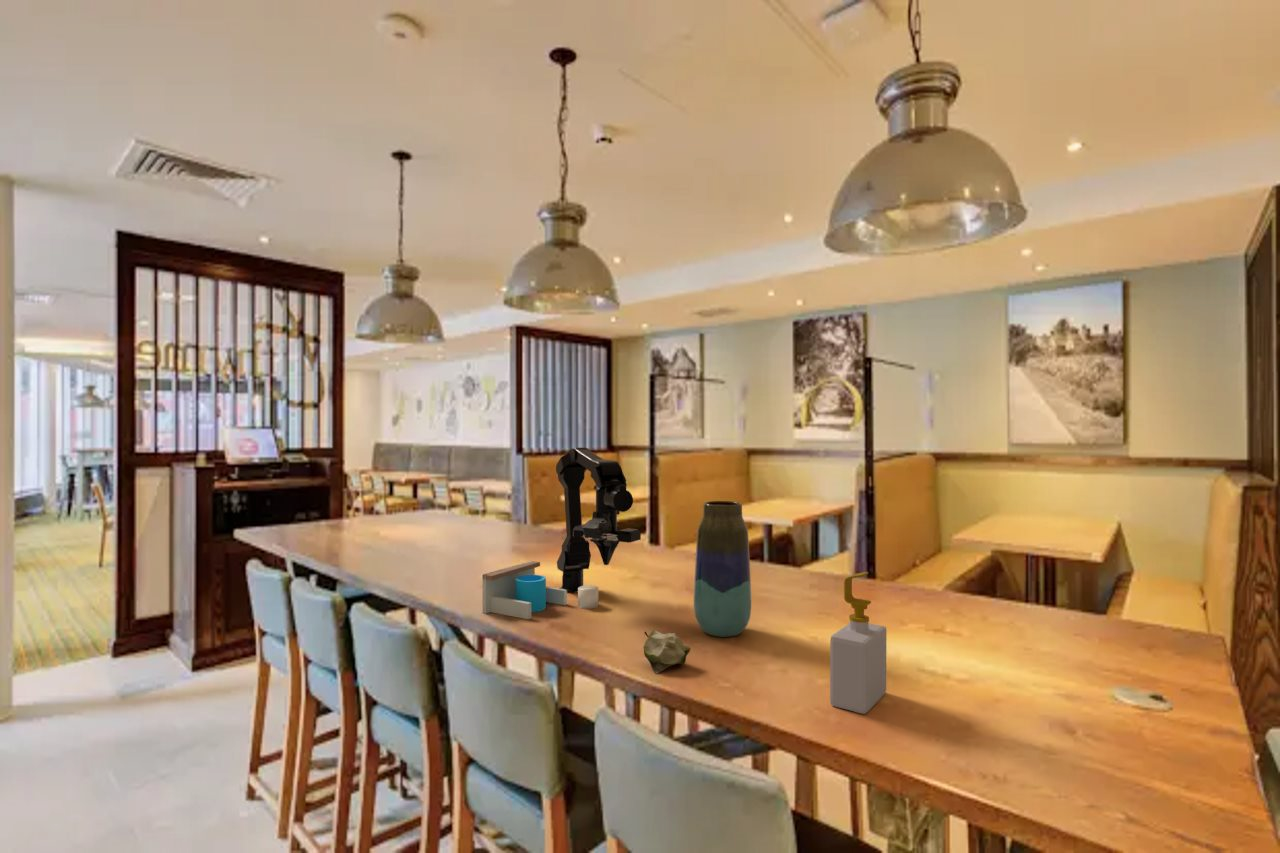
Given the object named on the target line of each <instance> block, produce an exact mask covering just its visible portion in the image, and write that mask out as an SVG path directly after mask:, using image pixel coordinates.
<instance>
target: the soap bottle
mask: <svg viewBox="0 0 1280 853" xmlns="http://www.w3.org/2000/svg"><path fill="white" fill-rule="evenodd" d="M868 574H869V572H868V571H864V572H858V573H854V574H852V575H850V576H848V577H846V578H845V579H844V584H843V586H844V588H843V589H844V593H843V594H844V595H843V597H844V601H845V602H846V603H848V604H850V608H852V609H854V611H853V613H851V614H849V617H848V618H849V619H848V620H849V623H848V624H846V625H845V626H843V627H842V628H840V629H839V630H837V631H836V632H835V633H833V634H832V635H831V637H830V640H829V641H830V642H829V643H830V644H829V646H830V648H829V649H830V653H829V654H830V658H829V661H830V662H829V663H830V664H829V665H830V667H829V668H830V670H829V671H830V673H829V674H830V675H829V676H830V680H829V684H830V685H829V689H830V691H829V692H830V693H829V694H830V695H829V697H830V698H829V699H830V701H829V702H830V705H831V706H833V707H837V708H840V709H843V710H848V711H850V712H855V713H858V714H862V715H865V714H868V713H869V711H870V710H871V709H872V708H873V707H874V706H875V705H876V704H877V703H878V702H879V701H880V700H881V699H882V697H883V696H885V694H886V692H887V627H886V626H884V625H881V624H880V625H879V624H874V623H869V622H870V616H868V615H866V614H865V610H868V606H869V605H870V604H871V603H872V601H871V600H869V599H862V598H857V597H854V596H853V579H856V578H857V579H858V578H862V577H865V576H867V575H868Z"/></svg>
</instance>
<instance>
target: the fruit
mask: <svg viewBox="0 0 1280 853" xmlns="http://www.w3.org/2000/svg"><path fill="white" fill-rule="evenodd" d="M644 635H645V636H646V637H647V639H646V640H645V642H644V645H643V655H644V657H645V658H646V659H647V661H648V662H649V664H650V666H651V669H652V671H653V672H654V674H657V675H658V674H660V673H661V672H662V671H664V670H666V669H668V668H669V667H671V666H673V665H676V664H678V665H684V664H685V663H686V660H687V656H688V655H689V654H690V652H691V649H692V647H690V646H689V645H687V644H685V643H683V641H682V640H681V639H680V637H679V636H677V634H676V633H675V632H673V633H671V632H669V633H665V634H664V633H662V632H659V631H657V630H654V629H653V630H651V632H650V633H649V634H647V631H644Z"/></svg>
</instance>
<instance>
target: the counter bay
mask: <svg viewBox="0 0 1280 853" xmlns="http://www.w3.org/2000/svg"><path fill="white" fill-rule="evenodd" d="M538 567H541V561H533V560H529V561H525V562H522V563H518V564H516V565H512V566H508V567H504V568H502V569H498V570H493V571H490V572H487V573H484V574H483V573H482V614H488V613H495V614H500V615H505V616H510V617H515V618H520V619H525V620H530V619H532V612H531V603H530V602H525V601H519V600H516V578H517V577H519V576H524V575H536V572H535V568H538ZM559 588H560V587H558V588H557V587H552V586H547V585H546V603H550V604H556V605H562V606H566V605H568V591H567V590H565V589H559Z"/></svg>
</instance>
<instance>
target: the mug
mask: <svg viewBox="0 0 1280 853" xmlns="http://www.w3.org/2000/svg"><path fill="white" fill-rule="evenodd" d="M546 586H547V578H546V576H544V575H540V574H535V575H524V576H519V577H517V578H516V600H519V601H525V602H530V603H531V613H536V611H537V612H542V611H544V610H545V609H546V607H547V602H546Z"/></svg>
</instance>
